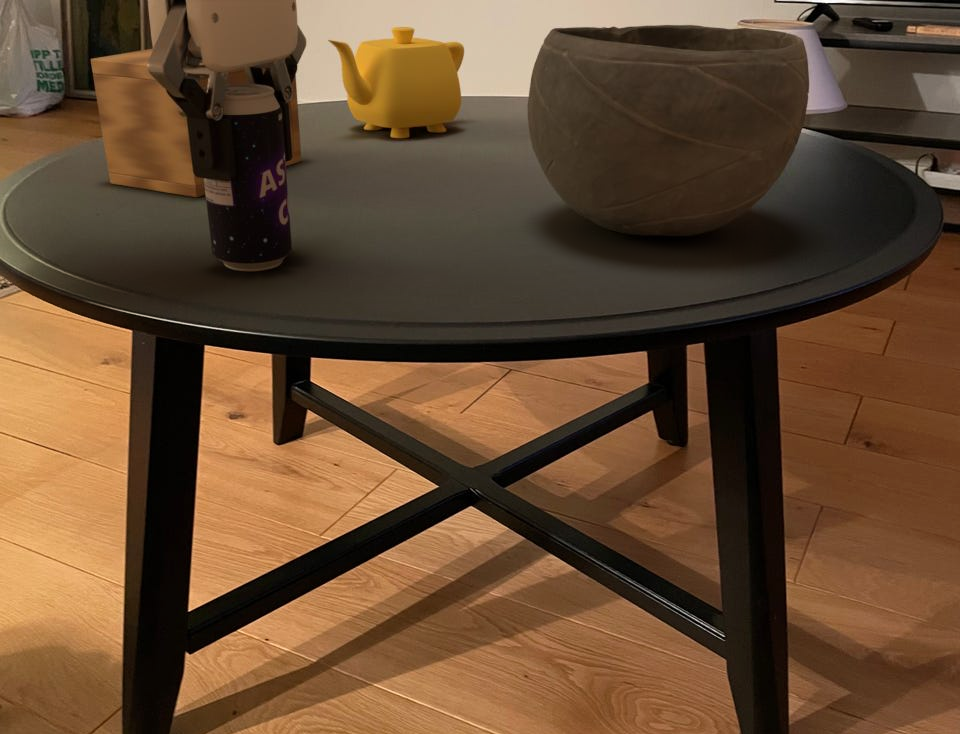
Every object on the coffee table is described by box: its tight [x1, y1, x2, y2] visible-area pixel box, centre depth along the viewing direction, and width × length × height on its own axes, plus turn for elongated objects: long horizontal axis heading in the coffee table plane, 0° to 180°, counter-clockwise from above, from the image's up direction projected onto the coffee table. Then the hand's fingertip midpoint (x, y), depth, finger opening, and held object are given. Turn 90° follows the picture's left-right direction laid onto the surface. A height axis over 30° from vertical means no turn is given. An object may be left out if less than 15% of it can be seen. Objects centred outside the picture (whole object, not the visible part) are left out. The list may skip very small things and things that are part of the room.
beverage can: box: [202, 84, 293, 272], centre depth 72 cm, size 6×6×12 cm
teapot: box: [327, 26, 465, 139], centre depth 114 cm, size 18×11×11 cm, turn 130°
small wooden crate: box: [90, 48, 302, 198], centre depth 95 cm, size 10×16×11 cm, turn 154°
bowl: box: [527, 24, 810, 237], centre depth 81 cm, size 21×21×15 cm
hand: (244, 166), depth 71 cm, fingers closed on beverage can, 5 cm apart
